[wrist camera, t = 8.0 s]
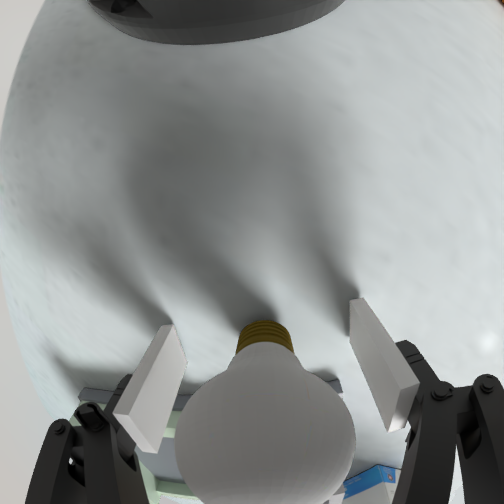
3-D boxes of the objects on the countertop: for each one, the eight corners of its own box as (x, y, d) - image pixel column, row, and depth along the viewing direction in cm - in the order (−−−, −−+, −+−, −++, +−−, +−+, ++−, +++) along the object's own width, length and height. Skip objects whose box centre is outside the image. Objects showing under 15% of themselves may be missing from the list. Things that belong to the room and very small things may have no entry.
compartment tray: (84, 387, 16) (53, 435, 11) (339, 379, 15) (360, 451, 10) (155, 475, 21) (144, 513, 15) (331, 473, 19) (338, 517, 14)
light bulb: (196, 354, 15) (147, 515, 5) (230, 264, 13) (171, 464, 3) (290, 382, 15) (304, 537, 6) (339, 304, 13) (418, 479, 4)
